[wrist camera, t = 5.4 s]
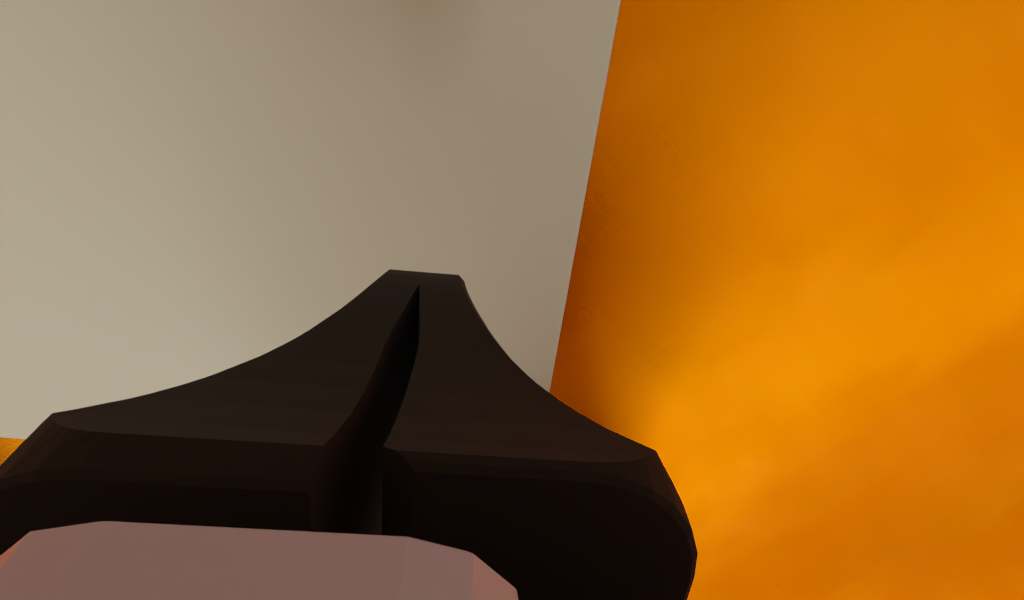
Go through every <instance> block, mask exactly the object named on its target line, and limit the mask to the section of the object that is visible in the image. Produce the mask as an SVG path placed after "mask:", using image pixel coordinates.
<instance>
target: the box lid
mask: <svg viewBox="0 0 1024 600" xmlns="http://www.w3.org/2000/svg"><path fill="white" fill-rule="evenodd" d="M620 3H621V0H0V437H2V438H16V439H27V438H28V437H29V436H30V435H31V434H32V433H33V431H34V430H35V429H36V428H37V427H38V426H39V425H40V424H41V423H42V422H43V421H44V420H45V419H47V418H48V417H49V416H50V415H51V414H52V413H56V412H62V411H68V410H74V409H79V408H84V407H89V406H94V405H99V404H104V403H109V402H114V401H119V400H124V399H129V398H134V397H138V396H142V395H146V394H150V393H154V392H158V391H161V390H165V389H169V388H172V387H176V386H180V385H183V384H186V383H189V382H192V381H196V380H199V379H202V378H205V377H208V376H211V375H214V374H216V373H219V372H221V371H224V370H226V369H229V368H231V367H234V366H236V365H239V364H242V363H244V362H247V361H249V360H252V359H254V358H257V357H259V356H261V355H263V354H265V353H268V352H270V351H272V350H274V349H276V348H277V347H279V346H281V345H283V344H285V343H287V342H289V341H291V340H293V339H295V338H297V337H298V336H300V335H302V334H303V333H305V332H307V331H308V330H310V329H312V328H313V327H314V326H316V325H317V324H319V323H320V322H322V321H323V320H325V319H326V318H328V317H329V316H331V315H332V314H334V313H335V312H337V311H338V310H340V309H341V308H342V307H344V306H345V305H346V304H347V303H349V302H350V301H351V300H353V299H354V298H355V297H356V296H358V295H359V294H360V293H361V292H362V291H364V290H365V289H366V288H367V287H368V286H370V285H371V284H372V283H373V282H374V281H376V280H377V279H378V278H379V277H380V276H382V275H383V274H384V273H386V272H387V271H388V270H389V269H392V270H404V271H417V272H429V273H441V274H454V275H459V276H460V277H461V278H462V279H463V280H464V281H465V286H466V289H467V292H468V294H469V296H470V298H471V300H472V302H473V304H474V306H475V308H476V310H477V312H478V313H479V315H480V317H481V318H482V320H483V321H484V323H485V325H486V326H487V328H488V329H489V331H490V332H491V334H492V335H493V337H494V338H495V339H496V341H497V342H498V343H499V345H500V346H501V347H502V348H503V350H504V351H505V352H506V353H507V355H508V356H509V357H510V358H511V359H512V360H513V362H515V363H516V364H517V365H518V366H519V367H520V368H521V369H522V370H523V371H524V372H525V373H526V374H527V375H528V376H529V377H530V378H531V379H532V380H534V381H535V382H536V383H537V384H538V385H540V386H541V387H542V388H544V389H545V390H546V391H548V392H549V393H550V387H551V382H552V376H553V371H554V365H555V360H556V354H557V349H558V343H559V338H560V332H561V327H562V321H563V316H564V310H565V305H566V299H567V294H568V288H569V283H570V277H571V272H572V266H573V261H574V255H575V250H576V244H577V239H578V233H579V228H580V222H581V217H582V211H583V206H584V200H585V195H586V189H587V184H588V178H589V173H590V167H591V162H592V156H593V151H594V145H595V140H596V134H597V129H598V123H599V118H600V112H601V107H602V101H603V96H604V90H605V85H606V79H607V74H608V68H609V63H610V57H611V52H612V46H613V41H614V36H615V30H616V25H617V19H618V14H619V8H620Z"/></svg>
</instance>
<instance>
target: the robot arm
mask: <svg viewBox="0 0 1024 600" xmlns="http://www.w3.org/2000/svg"><path fill="white" fill-rule="evenodd" d="M696 560H697V549H696V545H695V541H694V536H693V532H692V528H691V526H690V523H689V520H688V517H687V514H686V511H685V509H684V506H683V504H682V501H681V499H680V497H679V495H678V493H677V491H676V489H675V487H674V484H673V482H672V480H671V479H670V477H669V475H668V473H667V471H666V469H665V468H664V466H663V464H662V462H661V460H660V458H659V456H658V454H657V452H656V451H655V450H653V449H650V448H648V447H646V446H644V445H642V444H639V443H637V442H635V441H633V440H630V439H628V438H626V437H624V436H621V435H619V434H617V433H615V432H613V431H610V430H608V429H606V428H604V427H602V426H600V425H599V424H597V423H595V422H593V421H592V420H590V419H588V418H586V417H585V416H583V415H581V414H580V413H578V412H576V411H575V410H573V409H572V408H570V407H568V406H567V405H565V404H564V403H562V402H561V401H559V400H558V399H557V398H555V397H554V396H553V395H551V394H550V393H549V392H548V391H546V390H545V389H544V388H542V387H541V386H540V385H538V384H537V383H536V382H535V381H534V380H532V379H531V378H530V377H529V376H528V375H527V374H526V373H525V372H524V371H523V370H522V369H521V368H520V367H519V366H518V365H517V364H516V363H515V362H513V360H512V359H511V358H510V357H509V356H508V355H507V353H506V352H505V351H504V350H503V348H502V347H501V346H500V345H499V343H498V342H497V341H496V339H495V338H494V337H493V335H492V334H491V332H490V331H489V329H488V328H487V326H486V325H485V323H484V321H483V320H482V318H481V317H480V315H479V313H478V312H477V310H476V308H475V306H474V304H473V302H472V300H471V298H470V296H469V294H468V292H467V289H466V286H465V281H464V280H463V279H462V278H461V277H460V276H459V275H454V274H441V273H429V272H417V271H404V270H392V269H389V270H388V271H387V272H386V273H384V274H383V275H382V276H380V277H379V278H378V279H377V280H376V281H374V282H373V283H372V284H371V285H370V286H368V287H367V288H366V289H365V290H364V291H362V292H361V293H360V294H359V295H358V296H356V297H355V298H354V299H353V300H351V301H350V302H349V303H347V304H346V305H345V306H344V307H342V308H341V309H340V310H338V311H337V312H335V313H334V314H332V315H331V316H329V317H328V318H326V319H325V320H323V321H322V322H320V323H319V324H317V325H316V326H314V327H313V328H312V329H310V330H308V331H307V332H305V333H303V334H302V335H300V336H298V337H297V338H295V339H293V340H291V341H289V342H287V343H285V344H283V345H281V346H279V347H277V348H276V349H274V350H272V351H270V352H268V353H265V354H263V355H261V356H259V357H257V358H254V359H252V360H249V361H247V362H244V363H242V364H239V365H236V366H234V367H231V368H229V369H226V370H224V371H221V372H219V373H216V374H214V375H211V376H208V377H205V378H202V379H199V380H196V381H192V382H189V383H186V384H183V385H180V386H176V387H172V388H169V389H165V390H161V391H158V392H154V393H150V394H146V395H142V396H138V397H134V398H129V399H124V400H119V401H114V402H109V403H104V404H99V405H94V406H89V407H84V408H79V409H74V410H68V411H62V412H56V413H52V414H51V415H50V416H49V417H48V418H47V419H45V420H44V421H43V422H42V423H41V424H40V425H39V426H38V427H37V428H36V429H35V430H34V431H33V433H32V434H31V435H30V436H29V437H28V438H27V439H26V440H25V441H24V442H23V443H22V444H21V445H20V446H19V447H18V448H17V449H16V450H15V451H14V452H13V453H12V454H11V455H10V456H9V457H8V459H7V460H6V461H5V462H4V463H3V464H2V465H1V466H0V600H687V597H688V594H689V591H690V588H691V585H692V582H693V579H694V574H695V567H696Z"/></svg>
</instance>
